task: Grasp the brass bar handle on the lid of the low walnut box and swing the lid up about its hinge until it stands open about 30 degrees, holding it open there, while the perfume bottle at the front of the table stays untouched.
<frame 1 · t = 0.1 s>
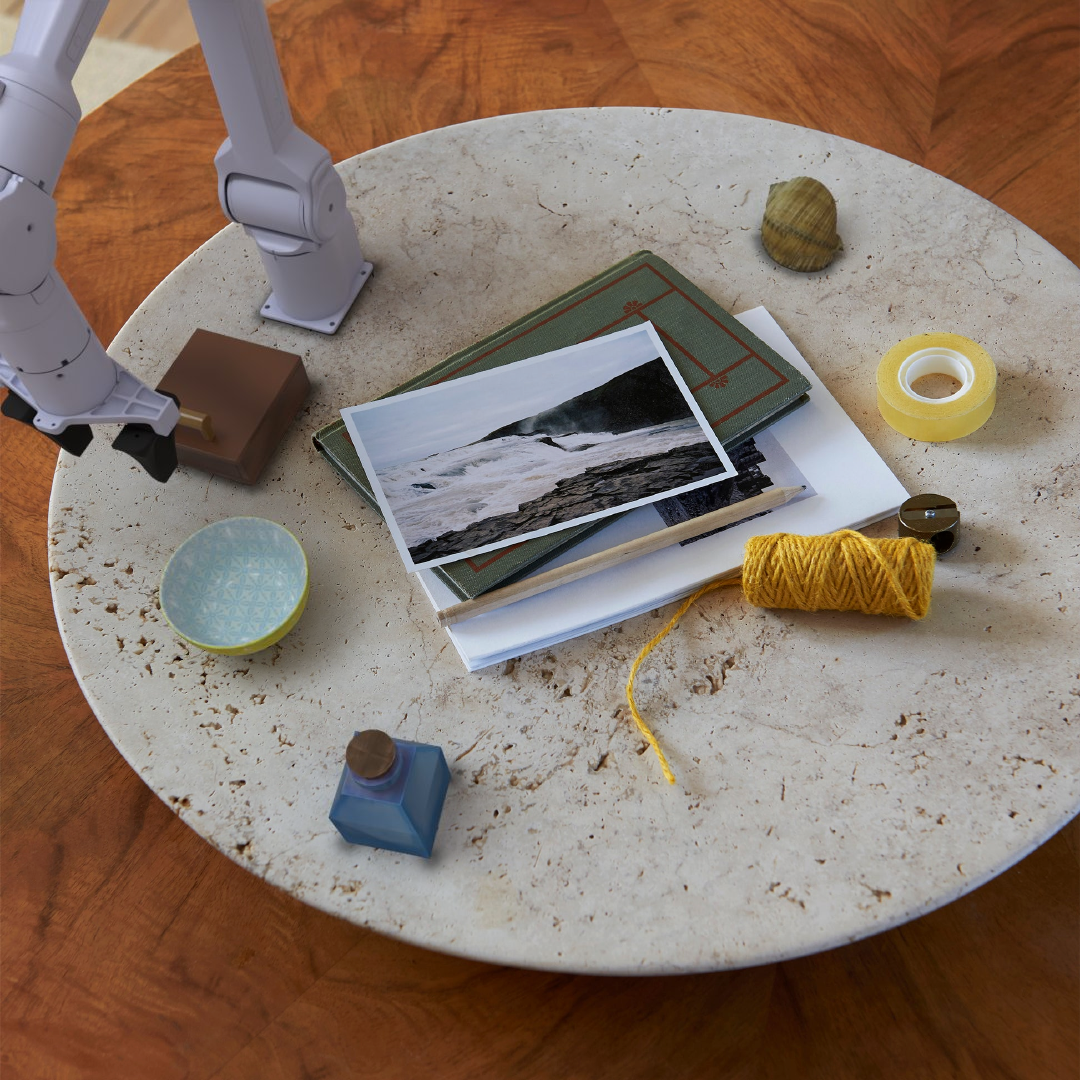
hand: (125, 459, 80), 10 cm above the table, tool pointing down, fingers open, 7 cm apart
box: (231, 420, 95), on the table
bowl: (256, 617, 85), on the table
lid: (211, 383, 90), point 6 cm above the table, hinge at 0.0°
seashell: (799, 241, 104), on the table
perfume bottle: (400, 808, 76), on the table
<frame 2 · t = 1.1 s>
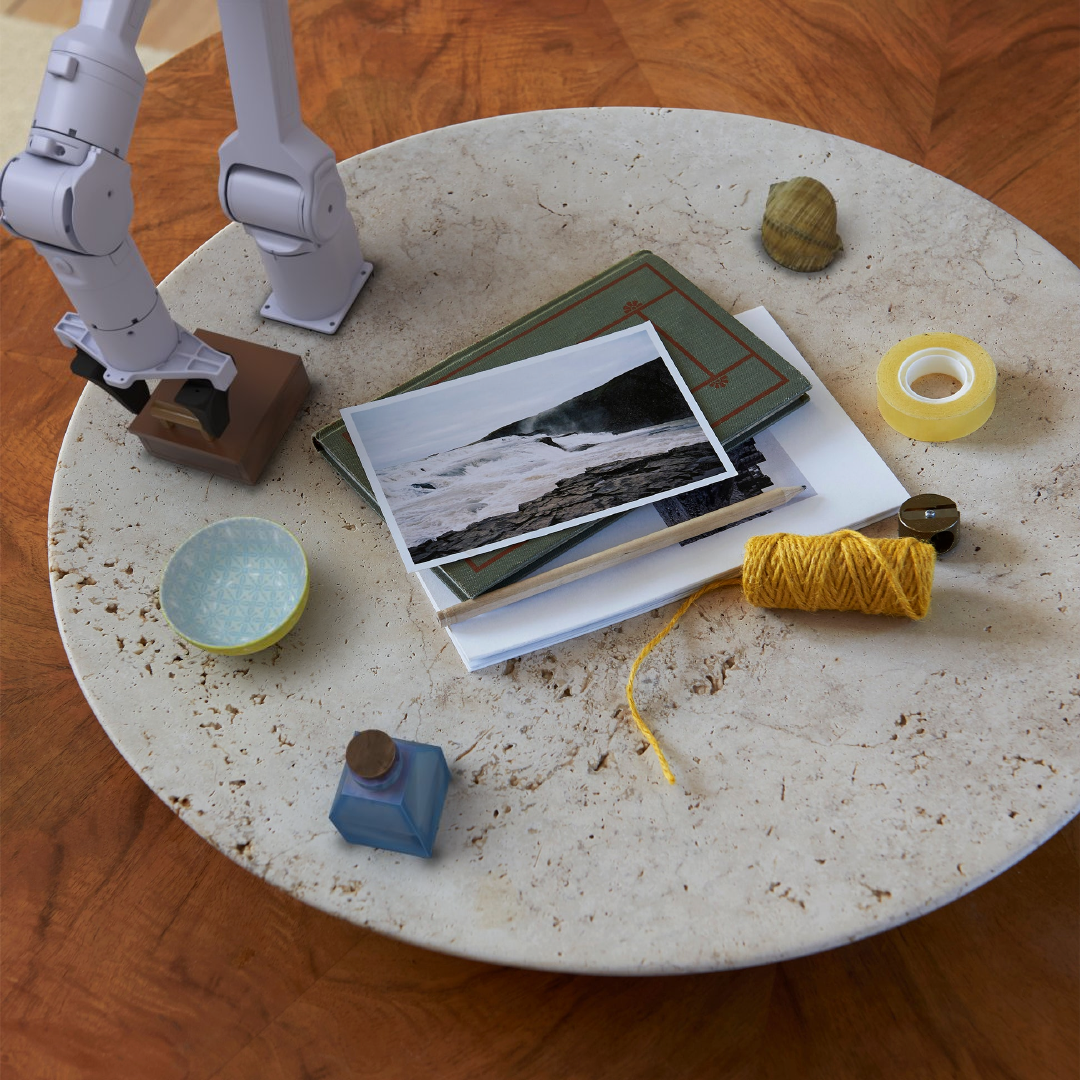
hand: (181, 416, 87), 7 cm above the table, tool pointing down, fingers open, 7 cm apart
nothing on the table moved.
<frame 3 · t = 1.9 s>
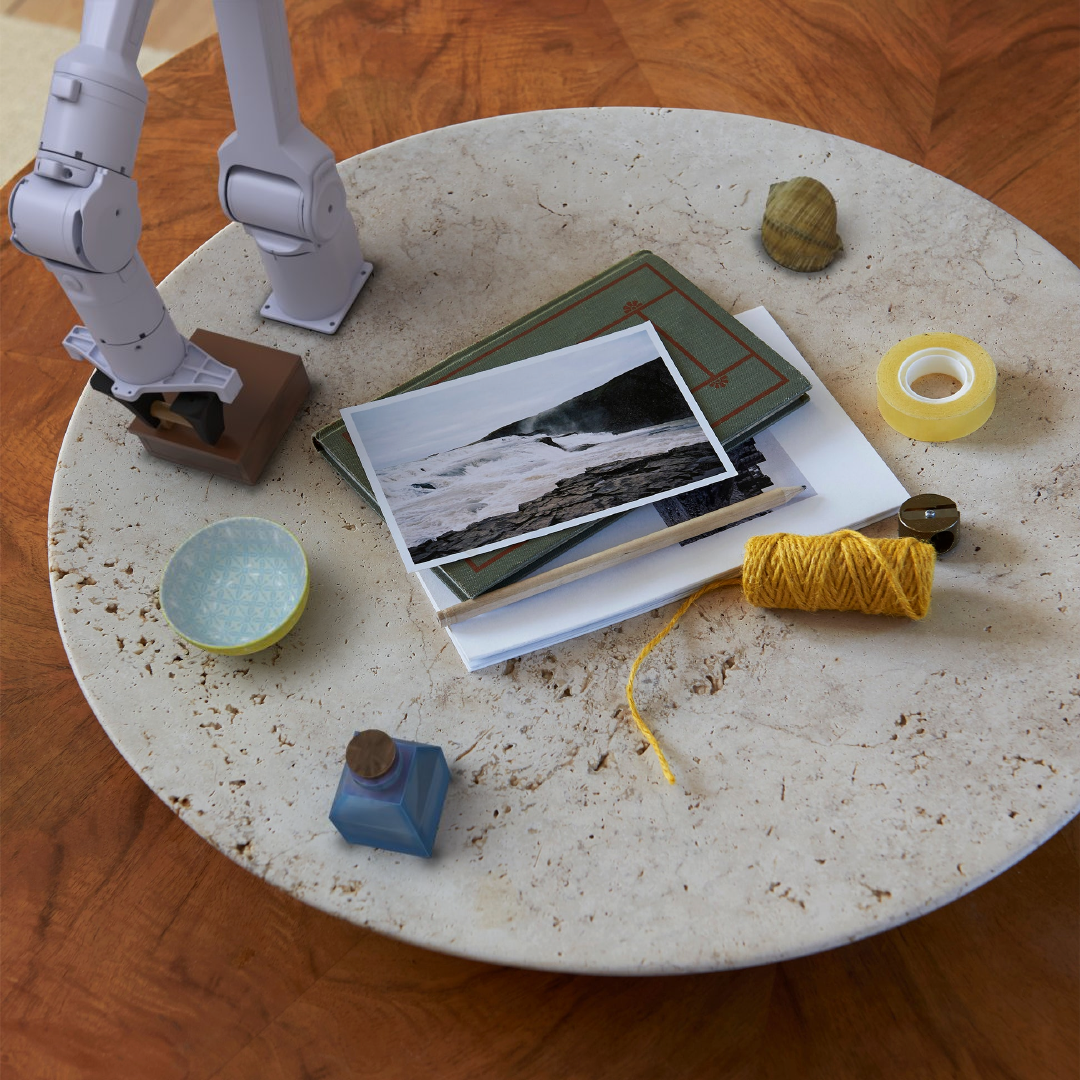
hand: (187, 427, 88), 5 cm above the table, tool pointing down, fingers closed on lid, 5 cm apart
lid: (211, 383, 90), point 6 cm above the table, hinge at 0.0°, touching gripper
everything else where it was.
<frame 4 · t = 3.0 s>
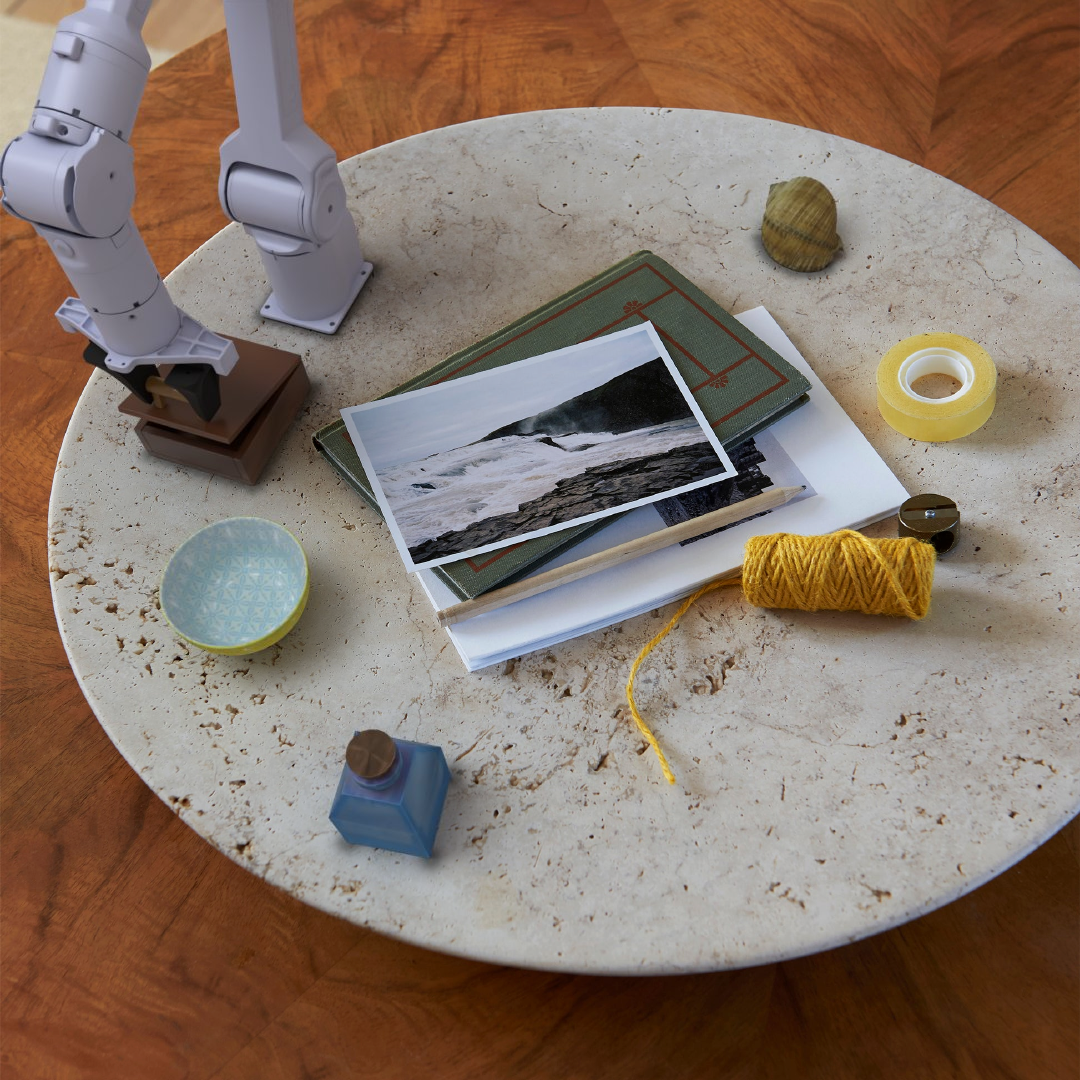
hand: (182, 403, 87), 7 cm above the table, tool pointing down, fingers closed on lid, 5 cm apart
lid: (209, 369, 89), point 7 cm above the table, hinge at 12.8°, touching gripper
everything else where it was.
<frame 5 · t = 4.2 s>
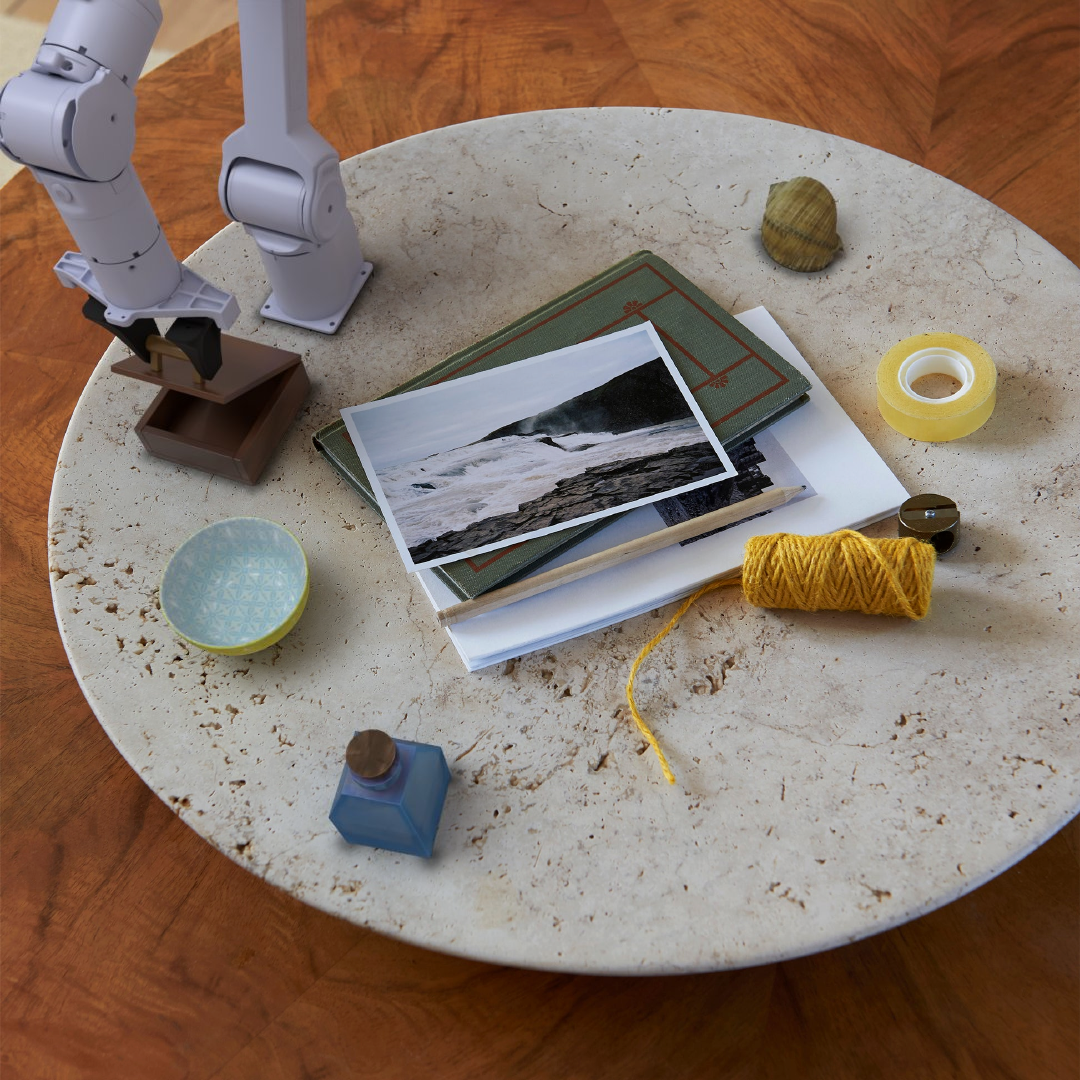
hand: (183, 362, 85), 10 cm above the table, tool pointing down, fingers closed on lid, 5 cm apart
lid: (210, 346, 88), point 9 cm above the table, hinge at 31.2°, touching gripper
everything else where it was.
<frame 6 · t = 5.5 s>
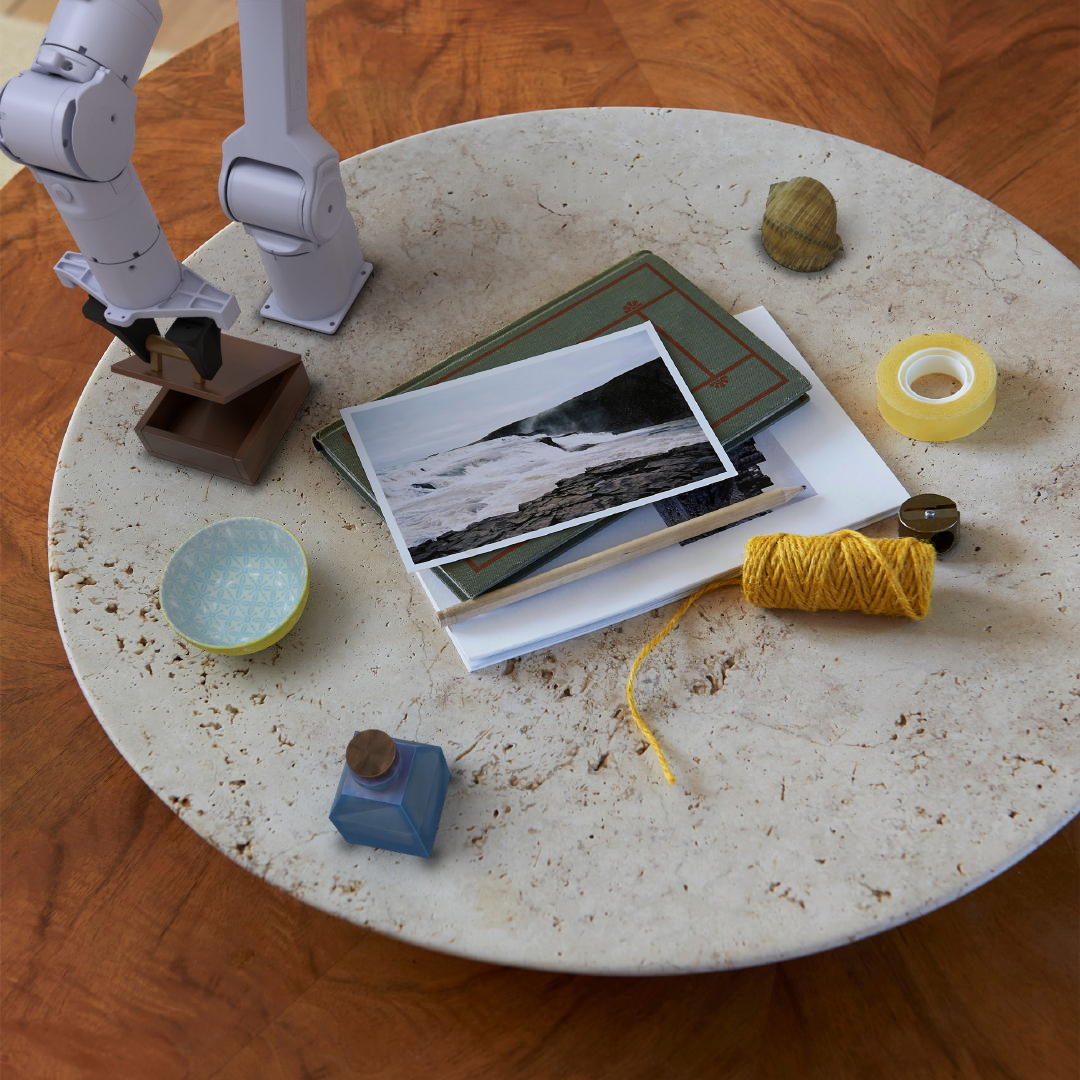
hand: (183, 362, 85), 10 cm above the table, tool pointing down, fingers closed on lid, 5 cm apart
lid: (210, 346, 88), point 9 cm above the table, hinge at 31.2°, touching gripper
everything else where it was.
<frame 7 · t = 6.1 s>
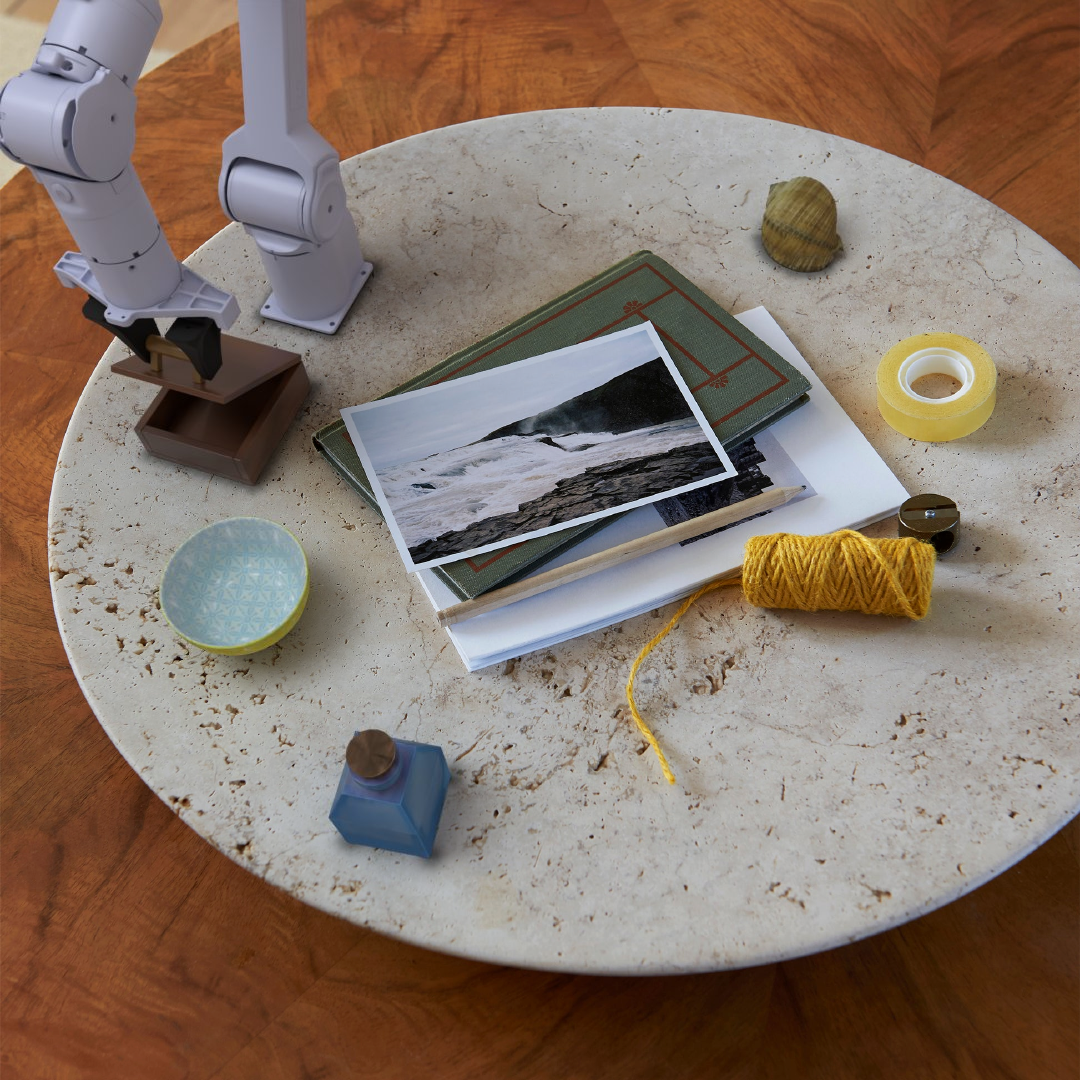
hand: (183, 362, 85), 10 cm above the table, tool pointing down, fingers closed on lid, 5 cm apart
lid: (210, 346, 88), point 9 cm above the table, hinge at 31.2°, touching gripper
everything else where it was.
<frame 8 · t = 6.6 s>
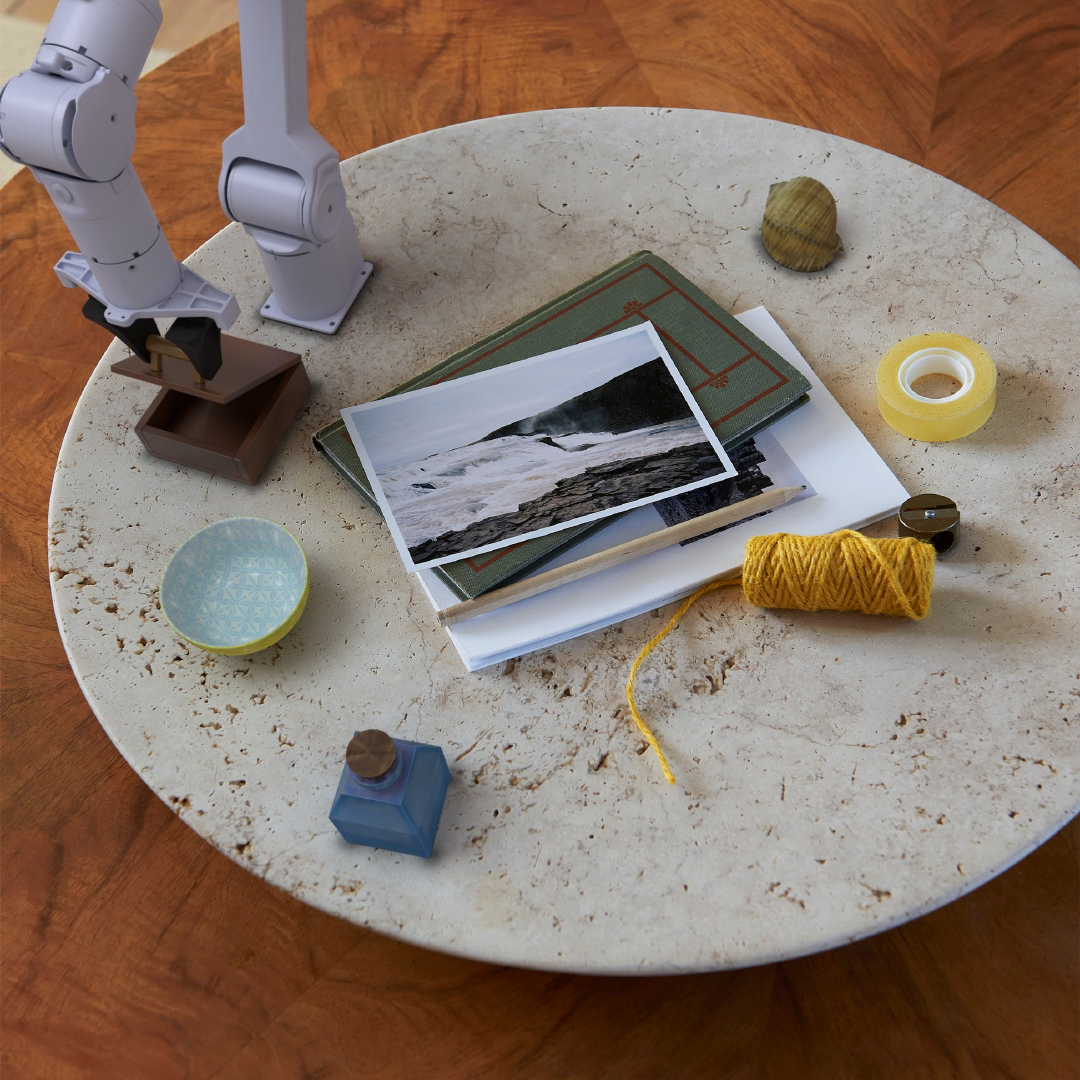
hand: (183, 362, 85), 10 cm above the table, tool pointing down, fingers closed on lid, 5 cm apart
lid: (210, 346, 88), point 9 cm above the table, hinge at 31.2°, touching gripper
everything else where it was.
at the end: lid at +31° (first picture: +0°); perfume bottle moved 0.2 cm from its start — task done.
